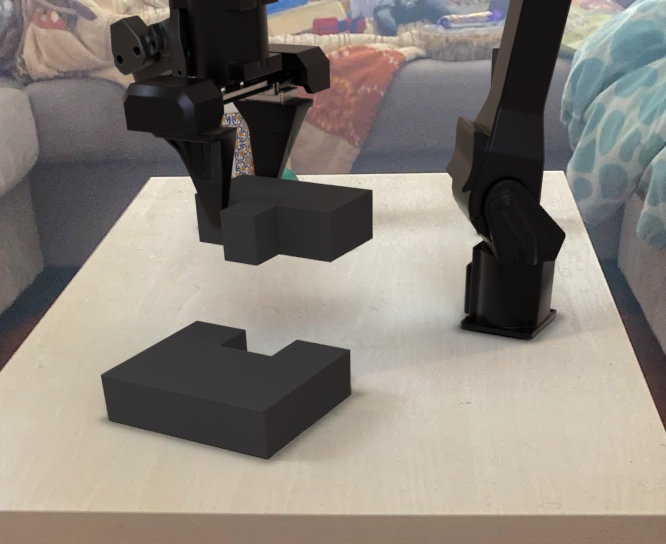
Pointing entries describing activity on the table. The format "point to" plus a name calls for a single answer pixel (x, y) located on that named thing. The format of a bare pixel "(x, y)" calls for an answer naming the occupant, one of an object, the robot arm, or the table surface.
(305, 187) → the black t-shaped block
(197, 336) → the charcoal pad
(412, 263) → the table surface
